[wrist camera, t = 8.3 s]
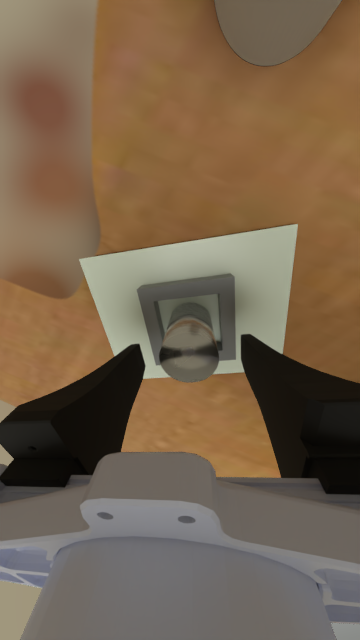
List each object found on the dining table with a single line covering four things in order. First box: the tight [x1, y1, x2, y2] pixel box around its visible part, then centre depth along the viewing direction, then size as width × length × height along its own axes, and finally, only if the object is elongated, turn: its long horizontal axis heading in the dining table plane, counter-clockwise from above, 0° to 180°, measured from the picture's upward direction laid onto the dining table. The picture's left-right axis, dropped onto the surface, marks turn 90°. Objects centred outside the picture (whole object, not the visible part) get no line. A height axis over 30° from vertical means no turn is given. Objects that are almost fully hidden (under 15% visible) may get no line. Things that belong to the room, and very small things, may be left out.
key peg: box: [159, 302, 219, 382], centre depth 14 cm, size 4×4×6 cm
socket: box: [79, 224, 298, 379], centre depth 16 cm, size 18×14×2 cm
